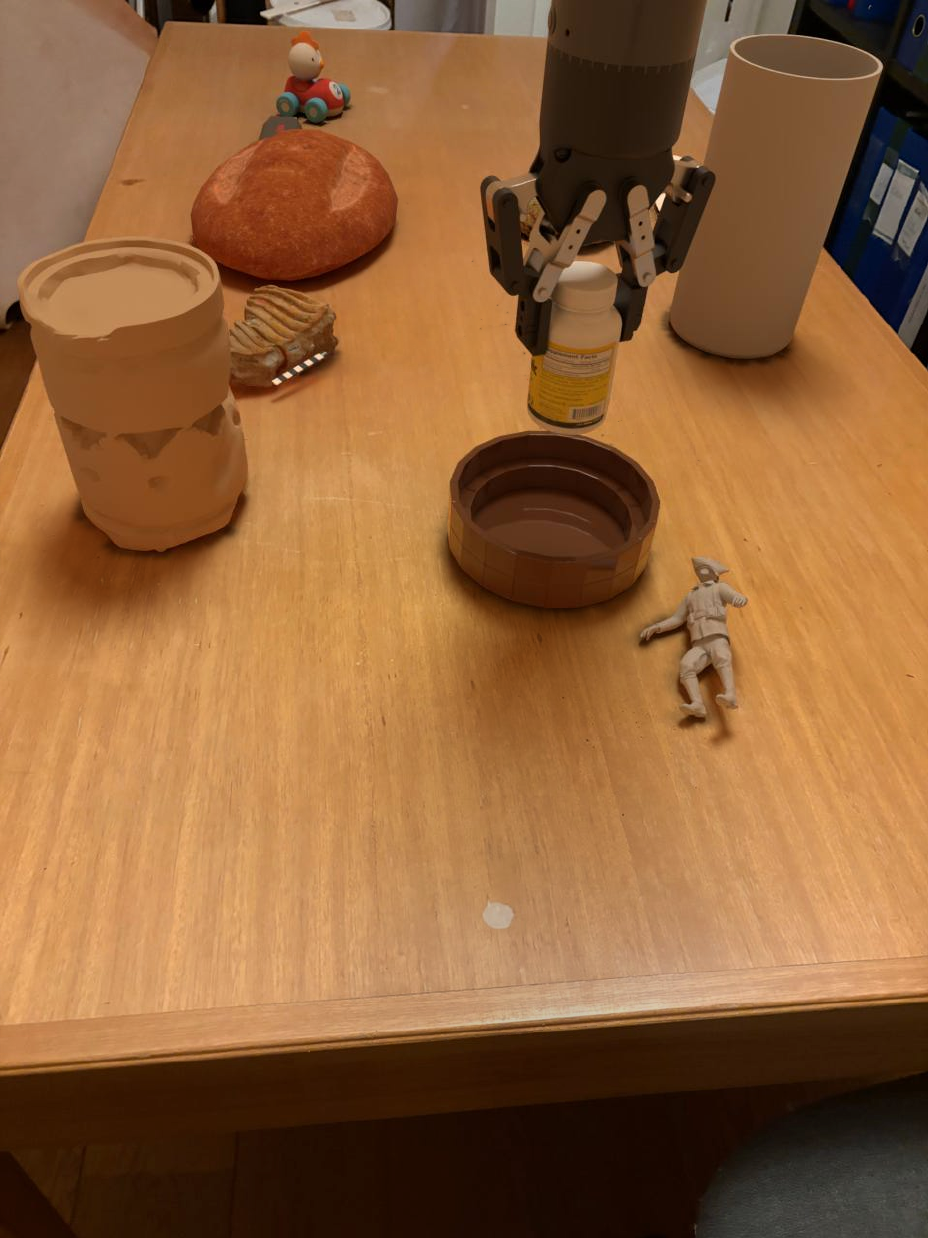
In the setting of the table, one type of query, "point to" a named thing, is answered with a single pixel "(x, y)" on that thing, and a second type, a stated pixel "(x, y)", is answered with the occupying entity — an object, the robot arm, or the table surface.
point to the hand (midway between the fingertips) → (576, 341)
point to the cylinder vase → (770, 189)
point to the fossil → (279, 337)
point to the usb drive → (278, 126)
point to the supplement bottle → (577, 352)
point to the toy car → (310, 84)
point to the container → (140, 385)
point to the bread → (294, 206)
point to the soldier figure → (705, 634)
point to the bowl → (551, 518)
